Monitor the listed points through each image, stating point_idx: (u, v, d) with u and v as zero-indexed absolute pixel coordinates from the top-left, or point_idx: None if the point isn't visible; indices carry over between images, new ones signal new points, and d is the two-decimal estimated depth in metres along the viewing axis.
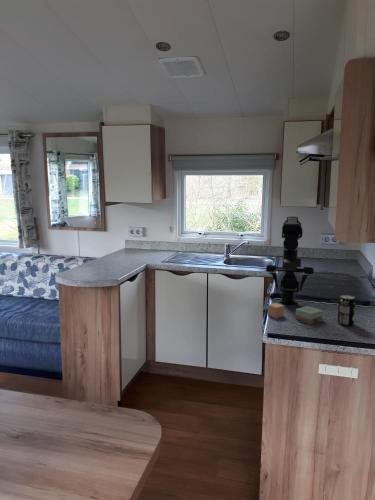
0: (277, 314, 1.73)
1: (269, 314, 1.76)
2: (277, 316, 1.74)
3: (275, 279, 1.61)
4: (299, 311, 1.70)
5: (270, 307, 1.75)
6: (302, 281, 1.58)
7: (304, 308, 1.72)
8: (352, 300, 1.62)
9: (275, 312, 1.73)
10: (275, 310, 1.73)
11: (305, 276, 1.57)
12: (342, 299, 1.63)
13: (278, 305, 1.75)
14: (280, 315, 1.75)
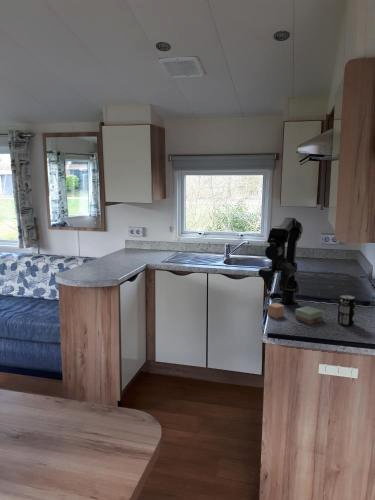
0: (277, 314, 1.73)
1: (269, 314, 1.76)
2: (277, 316, 1.74)
3: (270, 282, 1.70)
4: (298, 311, 1.70)
5: (270, 307, 1.75)
6: (287, 279, 1.76)
7: (304, 308, 1.72)
8: (352, 300, 1.62)
9: (275, 312, 1.73)
10: (275, 310, 1.73)
11: (291, 275, 1.75)
12: (342, 299, 1.63)
13: (278, 305, 1.75)
14: (280, 315, 1.75)
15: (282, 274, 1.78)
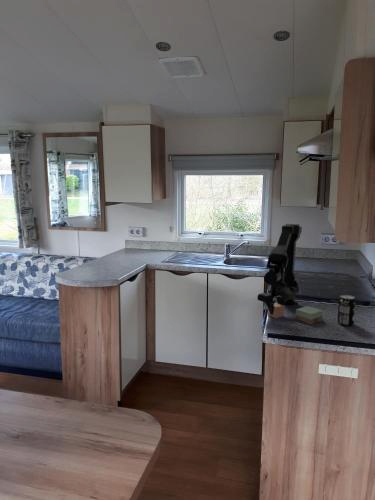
0: (277, 314, 1.73)
1: (269, 314, 1.76)
2: (277, 316, 1.73)
3: (272, 306, 1.73)
4: (299, 311, 1.70)
5: None
6: (283, 304, 1.76)
7: (304, 308, 1.72)
8: (352, 300, 1.62)
9: (275, 312, 1.73)
10: (275, 310, 1.73)
11: (287, 299, 1.76)
12: (342, 299, 1.63)
13: (278, 305, 1.75)
14: (280, 315, 1.75)
15: (278, 298, 1.78)
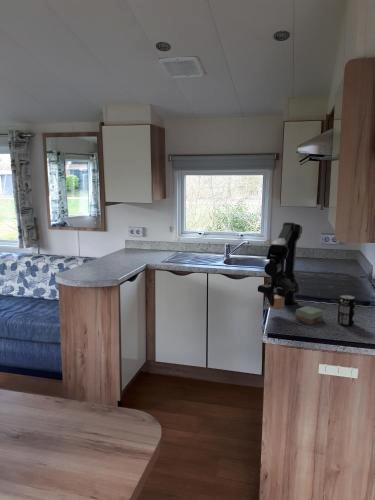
0: (277, 305, 1.73)
1: (269, 306, 1.75)
2: (277, 307, 1.73)
3: (273, 298, 1.72)
4: (299, 311, 1.70)
5: None
6: (283, 295, 1.76)
7: (304, 308, 1.72)
8: (352, 300, 1.62)
9: (275, 304, 1.72)
10: (275, 301, 1.72)
11: (287, 291, 1.75)
12: (342, 299, 1.63)
13: (278, 296, 1.75)
14: (280, 306, 1.74)
15: (278, 290, 1.78)
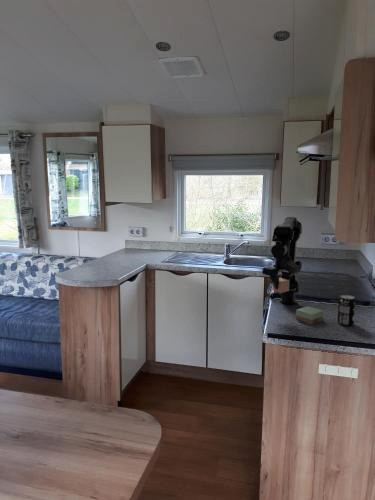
0: (282, 288, 1.71)
1: (274, 289, 1.74)
2: (282, 290, 1.71)
3: (277, 280, 1.70)
4: (299, 312, 1.69)
5: None
6: (288, 278, 1.74)
7: (305, 308, 1.72)
8: (352, 300, 1.62)
9: (280, 286, 1.70)
10: (280, 284, 1.70)
11: (292, 274, 1.73)
12: (342, 299, 1.63)
13: (283, 279, 1.73)
14: (285, 289, 1.72)
15: (283, 273, 1.76)
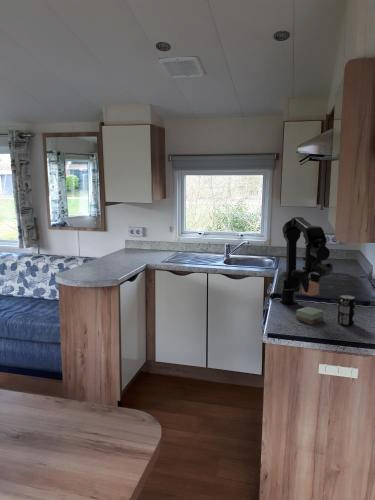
0: (312, 291, 1.66)
1: (303, 292, 1.69)
2: (312, 293, 1.66)
3: (307, 283, 1.65)
4: (300, 312, 1.69)
5: None
6: (318, 281, 1.69)
7: (305, 309, 1.72)
8: (352, 300, 1.62)
9: (310, 289, 1.66)
10: (310, 287, 1.66)
11: None
12: (342, 299, 1.63)
13: (313, 282, 1.68)
14: (315, 292, 1.67)
15: (312, 276, 1.71)
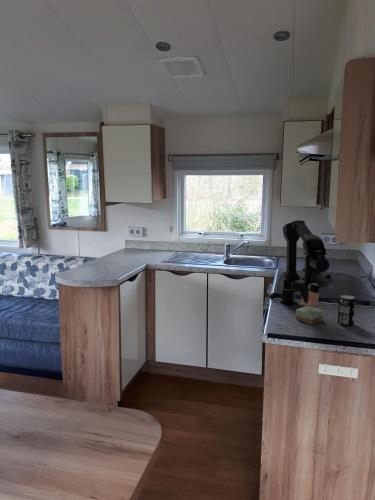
0: (312, 302, 1.67)
1: (303, 302, 1.70)
2: (312, 304, 1.67)
3: (307, 294, 1.66)
4: (299, 311, 1.70)
5: None
6: (317, 292, 1.70)
7: (304, 308, 1.72)
8: (352, 300, 1.62)
9: (310, 300, 1.67)
10: (309, 298, 1.67)
11: (321, 287, 1.69)
12: (342, 299, 1.63)
13: (312, 293, 1.69)
14: (315, 303, 1.68)
15: (312, 286, 1.72)
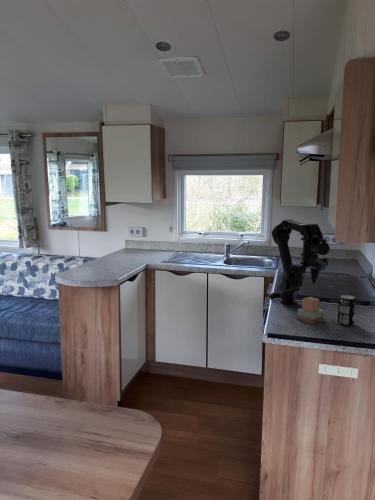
0: (313, 308, 1.67)
1: (304, 308, 1.70)
2: (313, 310, 1.67)
3: (302, 277, 1.75)
4: (301, 311, 1.70)
5: (305, 301, 1.69)
6: (317, 274, 1.81)
7: None
8: (352, 300, 1.62)
9: (311, 306, 1.67)
10: (310, 304, 1.67)
11: (321, 270, 1.80)
12: (342, 299, 1.63)
13: (313, 299, 1.69)
14: (315, 309, 1.69)
15: (312, 270, 1.83)
